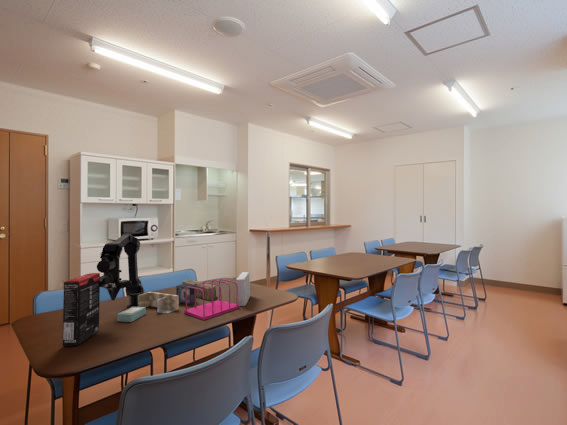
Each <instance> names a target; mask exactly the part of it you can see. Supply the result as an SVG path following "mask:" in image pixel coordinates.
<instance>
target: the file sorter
mask: <svg viewBox="0 0 567 425" xmlns="http://www.w3.org/2000/svg"><path fill="white" fill-rule="evenodd" d="M214 282H217V283H214ZM205 283H207V284H211V285H212V288H211V287H208V286H204V284H205ZM221 283H222V284H227V285H228V288H229V289H228V301H226V300H222V288H221ZM229 283H233V284H235V286H236V303H232V302H231V285H230V284H229ZM197 285H198V286H203V290H202V289H199V288H196V286H197ZM197 285H195V287H190V286H188V287H189V288H194V289H195V303H194V307H190V308H188V304H187V288H188V287H186V289H185V298H186V304H185V310H184V311H183V313H184V314H185V315H187V316H188V315H189V316H191V317H194V318H197V319H199V320H201V321H206V320H208V319H211V318H214V317H218V316H220V315H223V314H226V313H229V312H232V311H235V310H238V309H239V308H240V306H239V305H238V286H237V283H236V281H234V280H229V279H224V278H221V279H219V280H218V279H213V280H212V282H208V281H206V282H203V285H199V284H197ZM213 285H215V286H218V299H217V300H215V301H214V298H213ZM204 287H208V288H210V289H211V299H210V302H208V303H205V299H204ZM196 289H198V290H201V291H202V293H203V298H202V304H201V305H197V296H196Z"/></svg>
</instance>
